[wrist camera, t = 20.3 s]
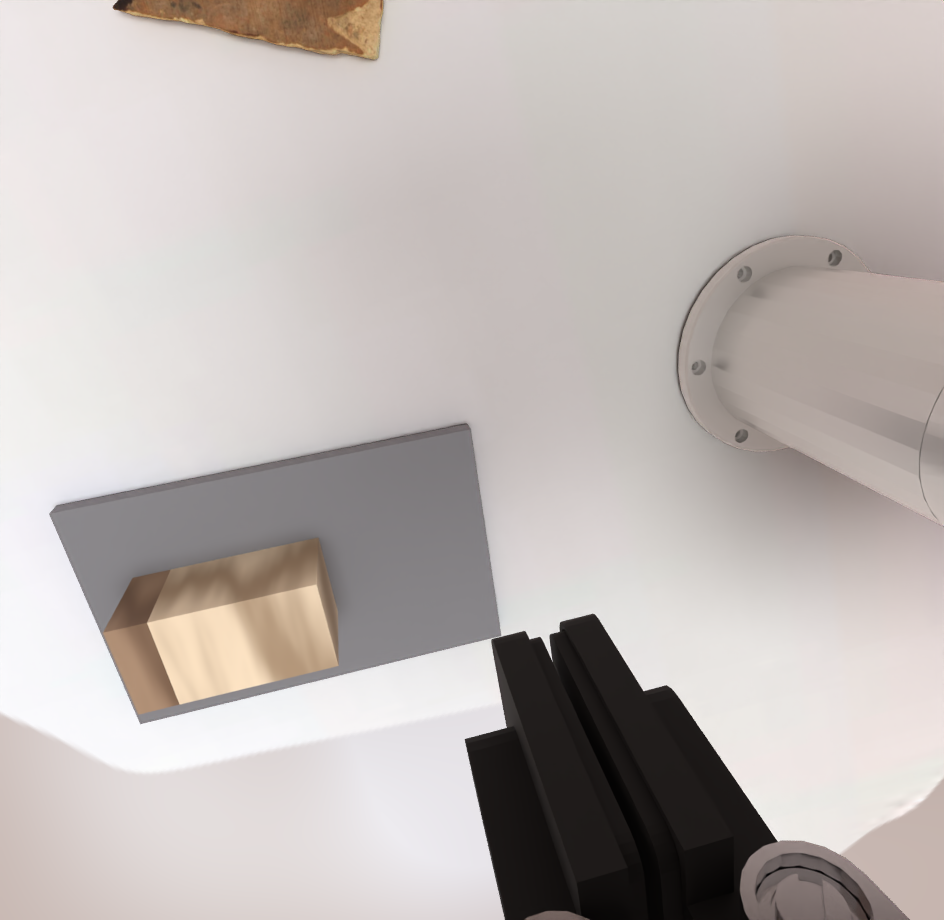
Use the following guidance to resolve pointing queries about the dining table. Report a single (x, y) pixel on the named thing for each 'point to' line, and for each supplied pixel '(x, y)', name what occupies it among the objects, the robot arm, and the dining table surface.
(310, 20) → the shard
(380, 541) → the mat
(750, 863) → the robot arm
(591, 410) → the dining table surface
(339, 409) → the dining table surface
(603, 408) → the dining table surface
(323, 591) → the maple block
